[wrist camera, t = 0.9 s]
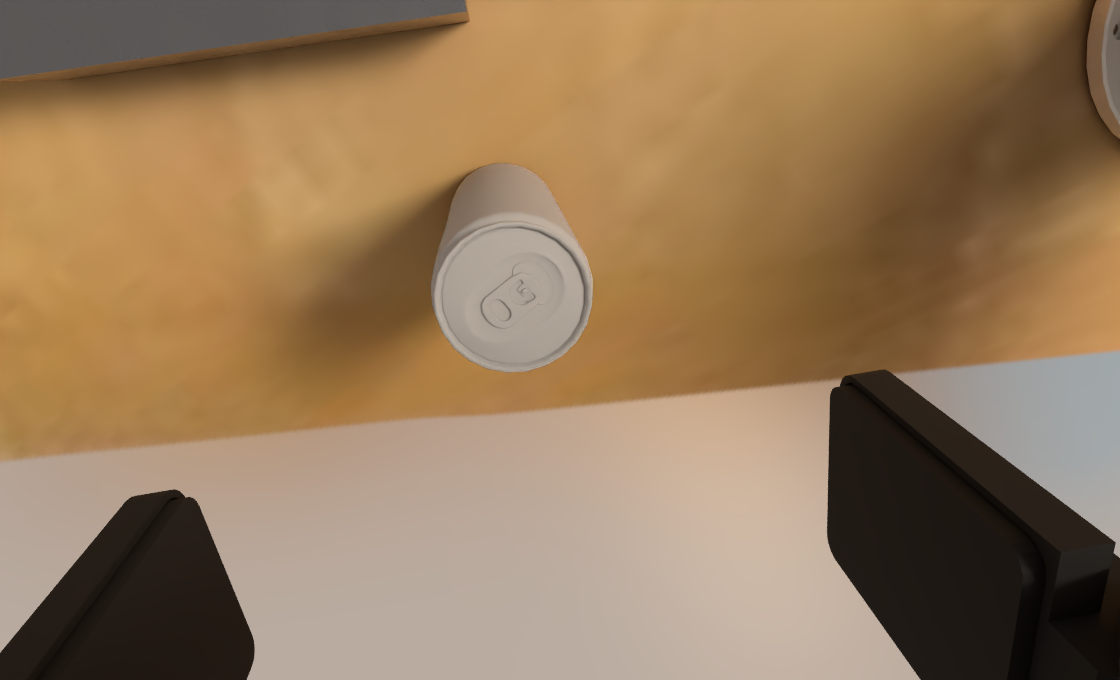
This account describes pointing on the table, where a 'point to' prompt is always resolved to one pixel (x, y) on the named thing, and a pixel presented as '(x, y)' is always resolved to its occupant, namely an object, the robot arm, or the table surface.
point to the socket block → (187, 30)
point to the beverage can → (510, 273)
